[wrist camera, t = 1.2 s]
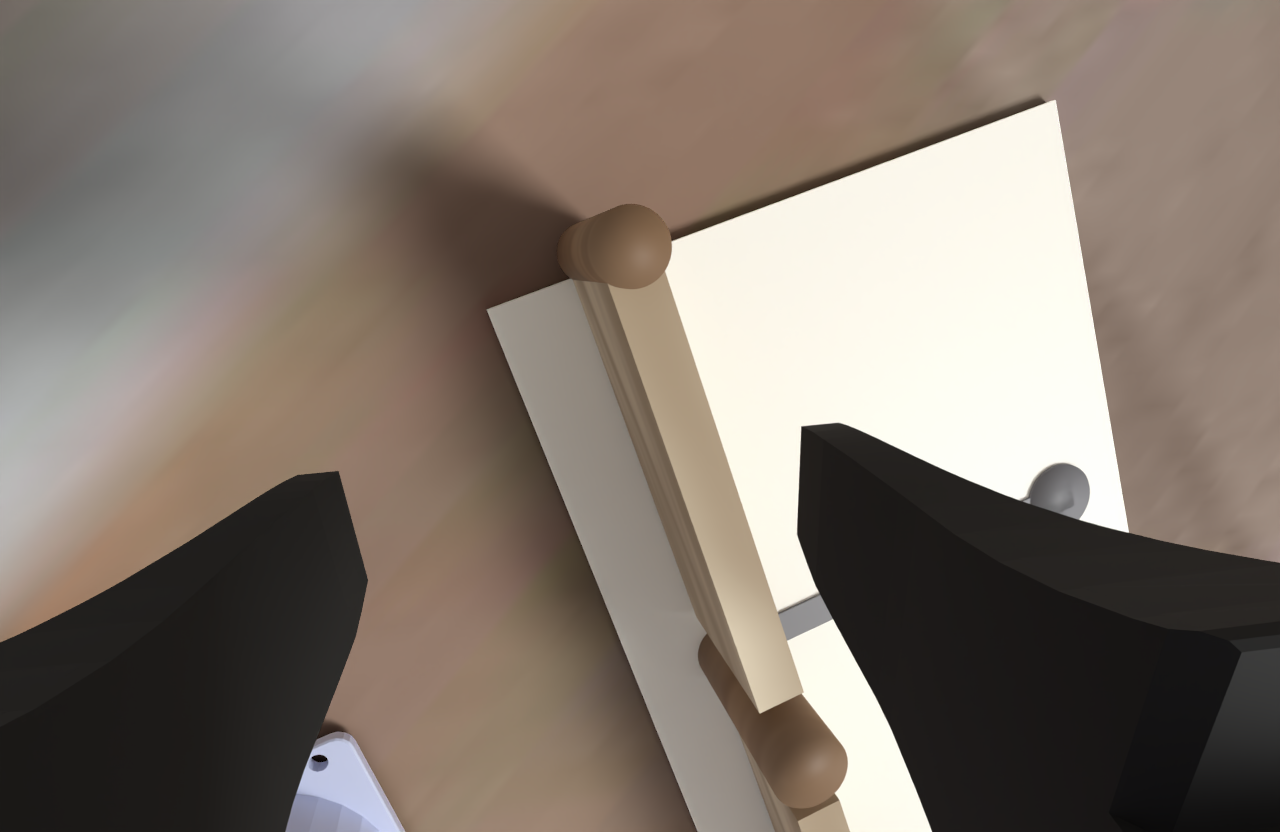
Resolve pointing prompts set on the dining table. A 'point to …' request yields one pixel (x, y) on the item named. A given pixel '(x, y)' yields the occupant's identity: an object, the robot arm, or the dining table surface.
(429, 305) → the dining table surface
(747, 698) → the fence corner and fixed panel
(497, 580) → the dining table surface
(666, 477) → the hinged fence panel
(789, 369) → the card
